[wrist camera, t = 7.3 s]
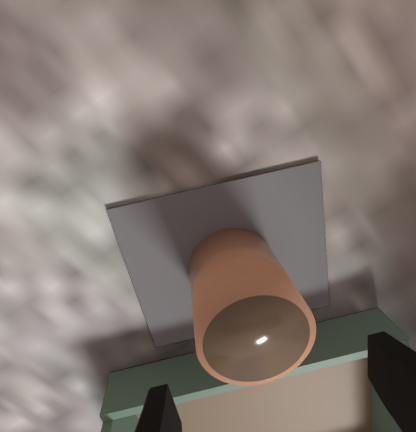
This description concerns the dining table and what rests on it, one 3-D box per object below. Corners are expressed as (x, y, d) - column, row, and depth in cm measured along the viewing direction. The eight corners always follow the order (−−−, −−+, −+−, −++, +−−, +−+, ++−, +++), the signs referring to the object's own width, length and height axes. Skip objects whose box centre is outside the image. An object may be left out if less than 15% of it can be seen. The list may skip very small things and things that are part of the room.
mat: (318, 160, 16) (320, 161, 16) (327, 303, 20) (329, 305, 20) (107, 208, 16) (106, 210, 16) (155, 345, 20) (155, 347, 20)
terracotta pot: (267, 219, 17) (313, 276, 12) (277, 291, 19) (319, 371, 13) (180, 239, 17) (182, 306, 11) (198, 310, 19) (208, 397, 13)
